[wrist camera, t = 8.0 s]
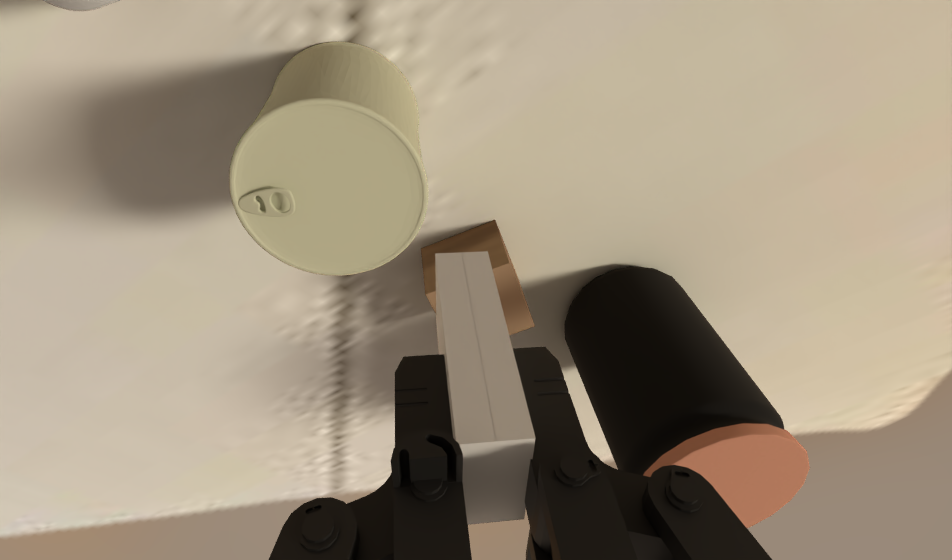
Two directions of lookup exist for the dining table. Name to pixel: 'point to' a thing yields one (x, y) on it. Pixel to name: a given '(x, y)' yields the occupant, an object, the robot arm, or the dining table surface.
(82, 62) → the dining table surface
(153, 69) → the dining table surface
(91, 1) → the grey cylinder
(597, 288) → the coffee jar
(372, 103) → the can
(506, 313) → the walnut block
